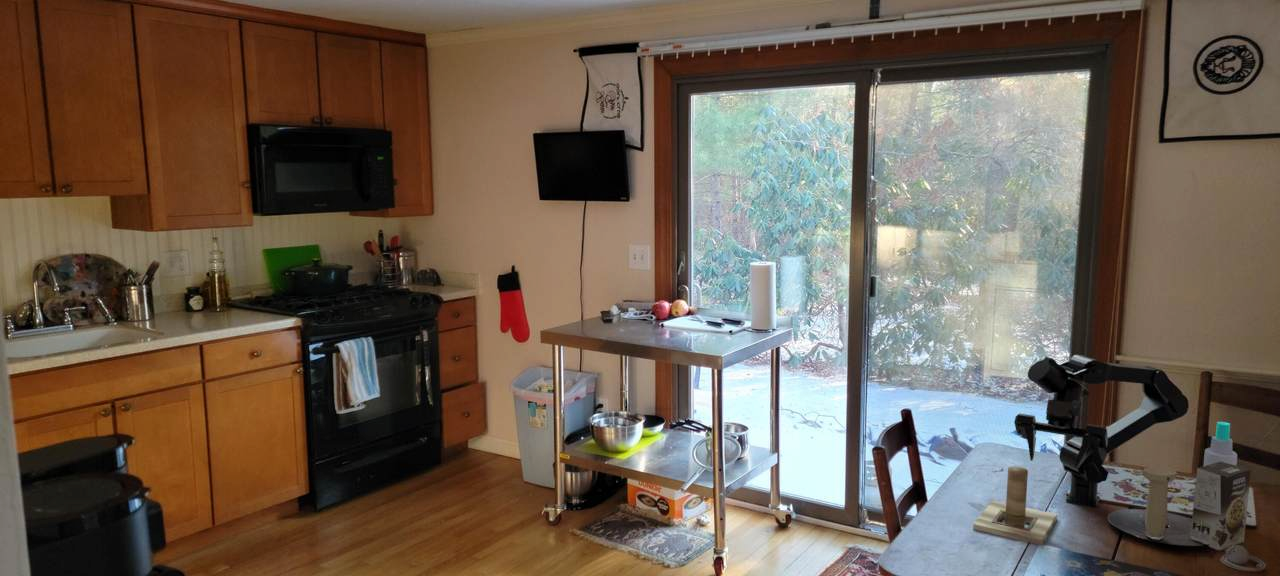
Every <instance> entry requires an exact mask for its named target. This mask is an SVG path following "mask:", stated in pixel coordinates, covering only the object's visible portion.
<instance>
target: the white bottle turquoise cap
mask: <svg viewBox="0 0 1280 576" xmlns="http://www.w3.org/2000/svg"><path fill="white" fill-rule="evenodd" d="M1215 429H1216V430H1215V436H1212V437H1211V441H1210V442H1211V443H1210V447H1207V448H1205V449H1204V456H1203V466H1207V465H1210V464H1214V463H1217V462H1224V463H1228V464H1232V465H1236V466H1237V461H1238V454H1237V452H1235V451H1233V442H1234V441H1233V439H1232V438H1230V435H1231V423H1229V422H1225V421H1217V422H1216V428H1215Z"/></svg>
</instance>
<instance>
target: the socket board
mask: <svg viewBox="0 0 1280 576" xmlns="http://www.w3.org/2000/svg"><path fill="white" fill-rule="evenodd" d="M1005 510H1006V502H1003V501H998V500H997V501H996V500H991V501H990V502H989V503H988V505H987V506H986V507H985V509H984V510H983V511H982V513H980V515H979V516H978V517H977V519H976V520H975V522H974V523H973V527H972V528H973V530H975V531H979V532H984V533H988V534H993V535H996V536H997V535H998V536H1001V537H1006V538H1011V539H1014V540H1018V541H1023V542H1027V543H1031V544H1036V545H1041V546H1042V545H1043V543H1044V542H1045V541H1046V539H1047V537H1048V535H1049V533H1050V532H1051V530H1052V528H1053V526H1054V524H1055V523H1056V521H1057V519H1058V514H1057V513H1054V512H1049V511H1044V510H1039V509H1034V508H1029V507H1026V510H1025V513H1026V514H1025V524H1026V523H1028V524H1029V525H1028V526H1027V527H1024V528H1023V527H1018V526H1014V525H1010V524H1005V522H1004V523H1003V522H1001V521H1002V519H1003V518H1004V519H1005V514H1006V513H1005Z"/></svg>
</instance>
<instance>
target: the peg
mask: <svg viewBox="0 0 1280 576" xmlns="http://www.w3.org/2000/svg"><path fill="white" fill-rule="evenodd" d="M1007 469H1008V470H1007V481H1006V483H1007V484H1006V499H1005V503H1006V510H1005V513H1006V514H1005V518H1004V523H1005V524H1010V525H1014V526H1018V527H1023V528H1025V525H1026V522H1025V514H1026V513H1025V510H1026V508H1027V492H1028V490H1027V489H1028V478H1029V475H1028V473H1029V472H1028V471H1029V470H1028V469H1027V468H1025V467H1023V466H1022V467H1021V466H1017V465H1016V466H1009V467H1008V468H1007Z"/></svg>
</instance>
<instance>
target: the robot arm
mask: <svg viewBox="0 0 1280 576" xmlns="http://www.w3.org/2000/svg"><path fill="white" fill-rule="evenodd" d="M1027 378H1028V380H1030V381H1031V382H1032V383H1034V384H1035V385H1036V386H1038V387H1039V388H1040V389H1041V390H1042V391H1044V392H1045V393H1046V394H1053V398H1052V399H1048V400H1047V404H1046V413H1045V415H1046V416H1045V420H1046V421H1047V423H1046V422H1045V423H1044V422H1039V421H1037V419H1036V416H1035V415H1032V414H1026V413H1017V414H1016V415H1015V417H1014V428H1015V431H1016V433H1017V434H1018V435H1019V436H1021V438H1023V439H1025V440H1026V442H1027V444H1028V445H1027V447H1028V452H1029V459H1030V461H1034V458H1035V451H1036V443H1037V437H1036V435H1037V432H1044V433H1051V434H1056V435H1063V436H1067V437H1068V436H1069V437H1072V438H1071V439H1069V440H1065V441H1064V443H1065V444H1064V445H1062V446H1061V447H1060V449H1059V450H1060V452H1059V461H1060V462H1061V464H1062V465H1063V466H1062V467H1063V470H1064V471H1065V472H1068V473H1070V488H1069V493H1068V495H1067V496H1066V498H1065V501H1066V502H1067V503H1073V504H1077V505H1083V506H1088V507H1091V508H1093V507H1094V508H1096V507H1097V506H1098V505H1099V502H1100V500H1101V497H1100V496H1098V487H1099V486H1098V485H1099V484H1101V483H1102V482H1106V481H1107V479H1108V476H1109V472H1108V470H1107V469H1106V468H1105V467H1104V466H1103V465H1104V464H1105V460H1106V458H1107V455H1108V454H1110V453H1111V452H1113V451H1114V450H1116V449H1117V448H1119V447H1121V446H1122V445H1124V444H1125V443H1127V442H1129V441H1131V439H1134V438H1136V437H1137V436H1138V435H1140V434H1141V433H1143V432H1144V431H1146V430H1148V429H1149V428H1151V427H1153V426H1154V425H1156V424H1162V423H1168V422H1169V423H1170V422H1172V421H1173V422H1174V421H1175V420H1178V419H1181V418H1183V417H1184V416H1185V415H1186V414H1187V413H1188V412H1189V403H1190V402H1189V400H1188V399H1189V398H1187V396H1186V395H1185V394H1183V392H1182V391H1181V389H1180V388H1179V387H1178V386H1177V385H1176V384H1174V382H1173V381H1171V380H1170V378H1169V377H1168V375H1167V373H1166V372H1165V371H1164V370H1163V369H1160V368H1157V367H1153V366H1150V365H1145V366H1144V365H1143V366H1142V365H1131V364H1123V363H1112V362H1111V363H1110V362H1103V361H1101V360H1098V359H1095V358H1091V357H1088V356H1085V355H1082V354H1074V355H1072V356H1071V358H1070V359H1069V360H1068V359H1067V360H1065V361H1063V362H1061V363H1057V361H1056V360H1055V359H1054V358H1053V357H1050V356H1045V357H1044V358H1043V359H1040V360H1039V361H1036V362H1035V363H1034V364H1032V365H1031V366H1029V368H1028V371H1027ZM1079 382H1083V383H1085V384H1087V385H1088V384H1089V385H1101V384H1105V383H1107V382H1121V383H1122V382H1123V383H1130V384H1131V383H1133V384H1141V387H1142V392H1143V394H1144V395H1145V396H1144V397H1143V398H1142V401H1141V404H1140V406H1139V407H1138V408H1137V409H1134V410H1133V411H1131V412H1130V413H1128V414H1127V415H1124V416H1123V417H1121V418H1120V419H1118V420H1117V421H1115V422H1113V423H1112V424H1110V425H1109V426H1107V427H1106V426H1104V425H1097V424H1090V423H1087V424H1086V428H1084V429H1083V428H1078V427H1076V426H1077V423H1078V417H1082V414H1083V401H1082V398H1085V397H1089V396H1090V394H1091V393H1090V392H1089V390H1088V389H1087V388H1086V387H1085V384H1081V383H1079ZM1017 434H1016V435H1017Z"/></svg>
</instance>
